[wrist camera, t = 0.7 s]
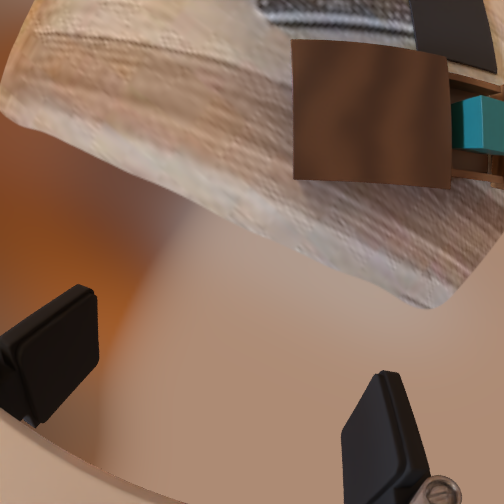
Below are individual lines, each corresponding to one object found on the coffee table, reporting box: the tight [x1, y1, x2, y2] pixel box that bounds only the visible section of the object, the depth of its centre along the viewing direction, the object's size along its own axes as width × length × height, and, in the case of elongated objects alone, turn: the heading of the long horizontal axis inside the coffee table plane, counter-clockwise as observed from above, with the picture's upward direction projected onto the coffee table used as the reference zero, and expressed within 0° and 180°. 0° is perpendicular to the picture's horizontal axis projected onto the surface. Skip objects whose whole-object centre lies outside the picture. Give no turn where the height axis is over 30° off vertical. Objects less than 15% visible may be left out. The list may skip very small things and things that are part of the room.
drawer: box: [448, 72, 504, 190], centre depth 26 cm, size 19×12×5 cm, turn 90°
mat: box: [409, 0, 497, 74], centre depth 25 cm, size 12×12×1 cm
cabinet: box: [291, 39, 452, 190], centre depth 28 cm, size 16×14×7 cm
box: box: [451, 95, 504, 155], centre depth 24 cm, size 5×5×8 cm
